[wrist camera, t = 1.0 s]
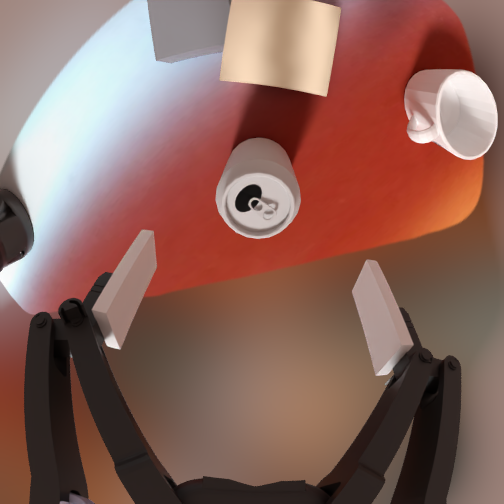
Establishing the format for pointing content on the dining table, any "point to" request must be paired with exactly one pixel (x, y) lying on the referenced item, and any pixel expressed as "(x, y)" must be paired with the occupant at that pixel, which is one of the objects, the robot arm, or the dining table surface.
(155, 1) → the slate block
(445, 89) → the mug
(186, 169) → the dining table surface
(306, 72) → the birch block
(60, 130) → the dining table surface
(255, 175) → the can
